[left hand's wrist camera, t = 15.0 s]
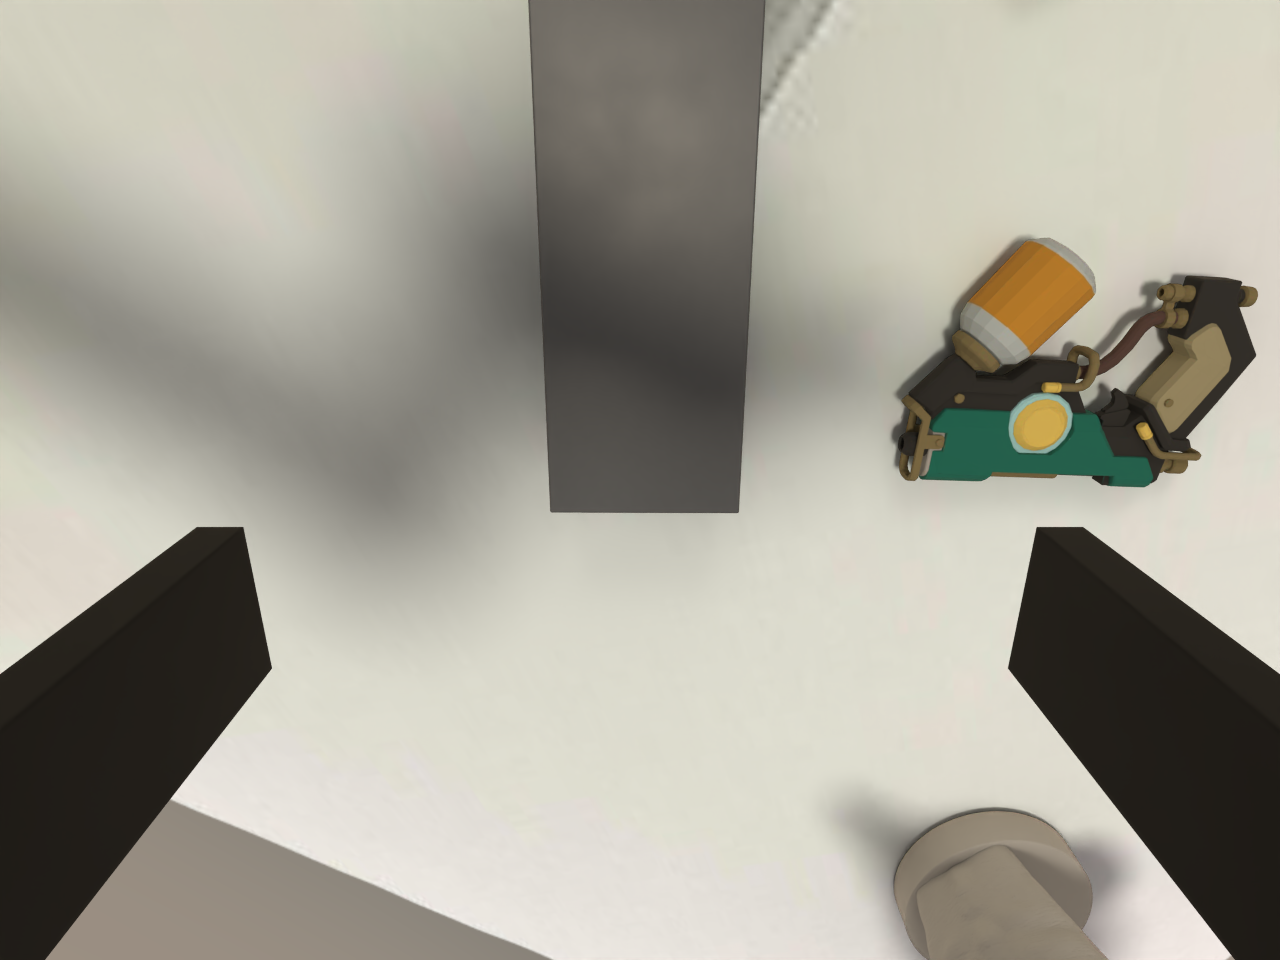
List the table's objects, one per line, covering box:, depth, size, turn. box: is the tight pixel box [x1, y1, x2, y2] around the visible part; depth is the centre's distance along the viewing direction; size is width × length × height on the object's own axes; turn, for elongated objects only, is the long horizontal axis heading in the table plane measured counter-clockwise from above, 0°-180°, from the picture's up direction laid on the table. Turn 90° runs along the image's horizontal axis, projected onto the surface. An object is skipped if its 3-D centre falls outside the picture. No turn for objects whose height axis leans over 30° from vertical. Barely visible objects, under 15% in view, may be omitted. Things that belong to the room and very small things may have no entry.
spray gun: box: [898, 238, 1258, 487], centre depth 40 cm, size 4×17×15 cm
